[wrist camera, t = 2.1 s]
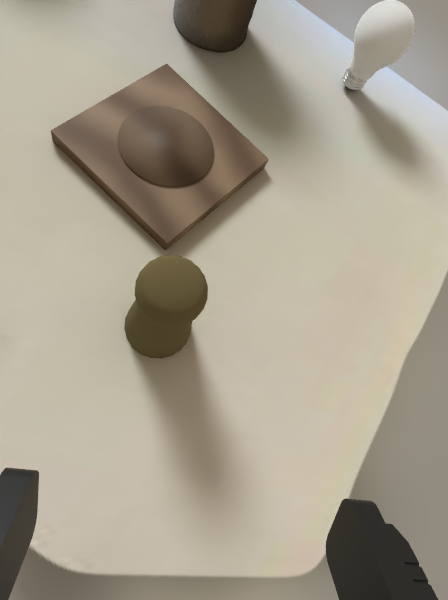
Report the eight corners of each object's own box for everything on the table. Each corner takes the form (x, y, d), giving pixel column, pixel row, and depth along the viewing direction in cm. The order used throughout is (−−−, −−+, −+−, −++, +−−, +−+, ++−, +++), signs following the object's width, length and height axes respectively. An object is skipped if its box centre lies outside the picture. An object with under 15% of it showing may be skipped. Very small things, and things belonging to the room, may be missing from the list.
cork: (203, 329, 39) (235, 288, 29) (155, 372, 37) (172, 343, 27) (160, 283, 40) (178, 227, 30) (110, 322, 37) (110, 275, 27)
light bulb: (319, 87, 54) (367, 5, 44) (337, 59, 57) (386, -24, 47) (361, 115, 54) (418, 39, 44) (377, 86, 57) (434, 9, 47)
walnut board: (165, 250, 41) (167, 242, 39) (52, 140, 42) (50, 129, 40) (264, 167, 47) (269, 157, 46) (165, 74, 48) (166, 62, 47)
